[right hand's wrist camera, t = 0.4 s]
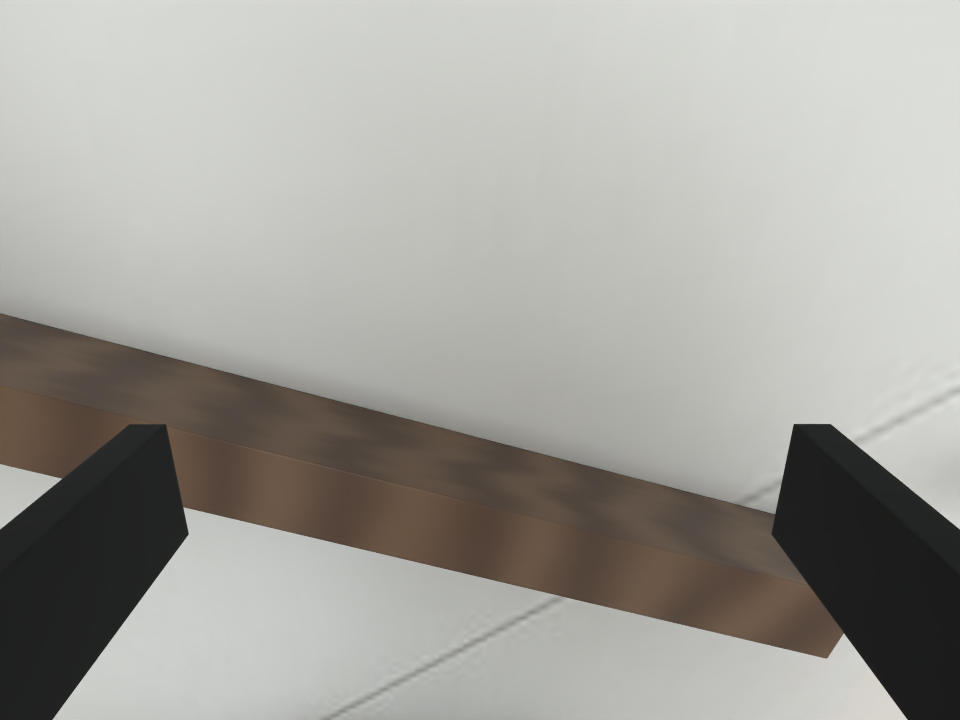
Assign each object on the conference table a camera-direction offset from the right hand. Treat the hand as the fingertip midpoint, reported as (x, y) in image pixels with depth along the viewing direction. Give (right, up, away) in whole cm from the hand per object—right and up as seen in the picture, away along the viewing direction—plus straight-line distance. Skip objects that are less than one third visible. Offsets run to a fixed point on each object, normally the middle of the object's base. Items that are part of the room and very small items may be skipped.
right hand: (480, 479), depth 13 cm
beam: (-8, -3, +29) cm, 30 cm away
